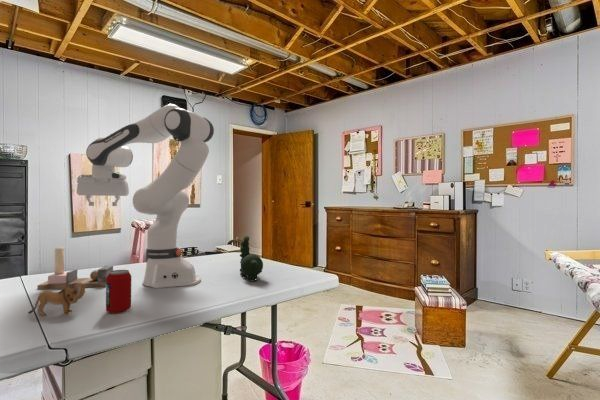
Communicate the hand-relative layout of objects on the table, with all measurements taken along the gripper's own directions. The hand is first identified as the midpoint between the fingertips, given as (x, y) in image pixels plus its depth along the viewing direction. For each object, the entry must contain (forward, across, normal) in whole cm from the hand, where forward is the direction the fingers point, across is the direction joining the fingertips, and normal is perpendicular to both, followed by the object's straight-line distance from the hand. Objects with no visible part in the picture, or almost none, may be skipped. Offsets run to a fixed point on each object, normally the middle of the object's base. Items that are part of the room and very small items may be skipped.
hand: (103, 206), depth 148 cm
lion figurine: (+31, +5, -52) cm, 61 cm away
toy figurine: (+32, +64, -15) cm, 73 cm away
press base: (+31, -3, -16) cm, 35 cm away
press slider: (+29, -9, -16) cm, 34 cm away
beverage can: (+31, +22, -53) cm, 65 cm away
